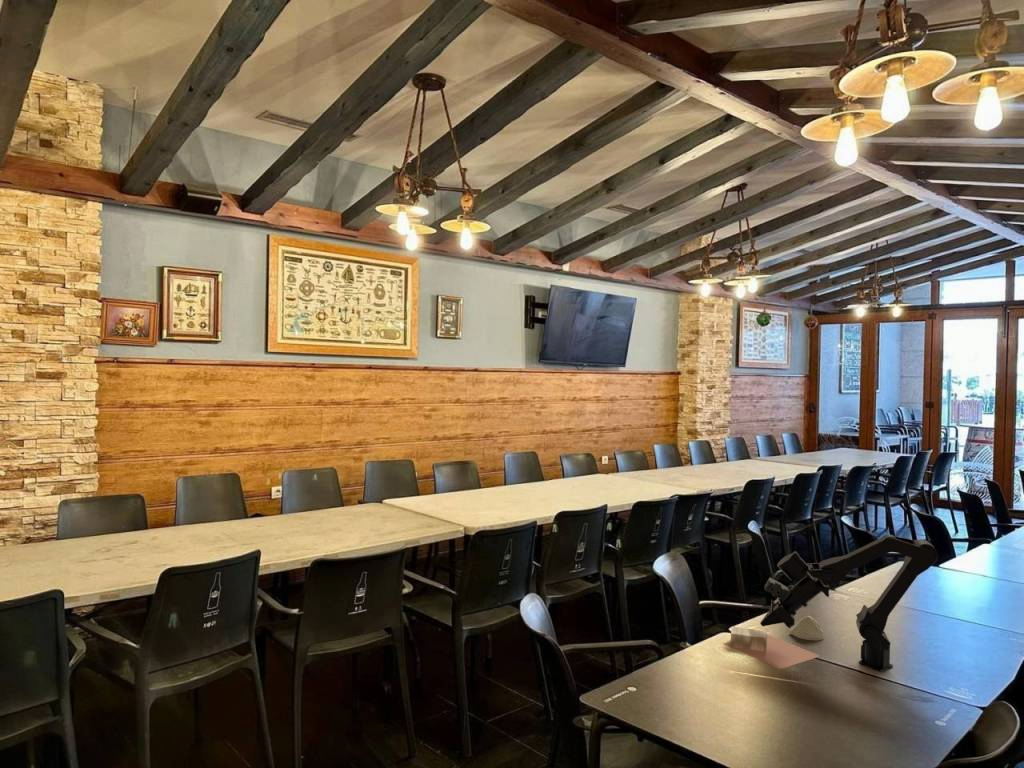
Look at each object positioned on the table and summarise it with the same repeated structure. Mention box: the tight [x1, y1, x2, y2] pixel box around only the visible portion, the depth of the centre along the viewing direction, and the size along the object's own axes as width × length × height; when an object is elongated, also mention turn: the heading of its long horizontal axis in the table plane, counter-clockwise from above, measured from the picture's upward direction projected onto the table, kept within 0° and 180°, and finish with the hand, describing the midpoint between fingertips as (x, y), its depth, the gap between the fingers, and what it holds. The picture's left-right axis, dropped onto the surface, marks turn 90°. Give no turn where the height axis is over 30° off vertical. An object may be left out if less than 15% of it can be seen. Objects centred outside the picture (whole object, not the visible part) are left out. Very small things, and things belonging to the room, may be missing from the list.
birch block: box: [730, 626, 768, 652], centre depth 205 cm, size 4×6×10 cm
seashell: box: [789, 615, 825, 641], centre depth 213 cm, size 8×8×8 cm
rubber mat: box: [724, 634, 821, 670], centre depth 202 cm, size 20×18×1 cm
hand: (761, 624), depth 204 cm, fingers closed
